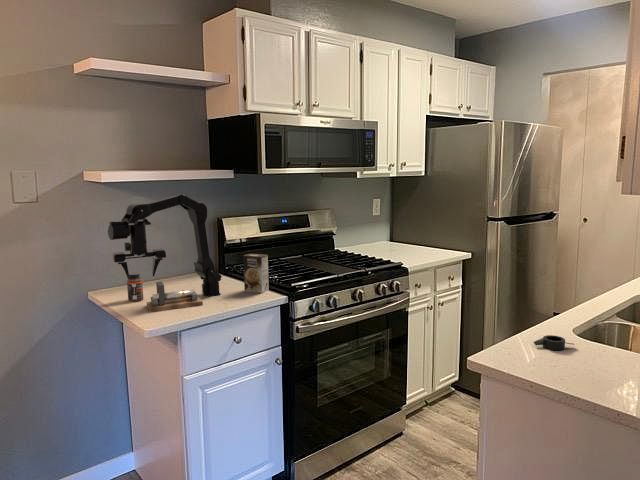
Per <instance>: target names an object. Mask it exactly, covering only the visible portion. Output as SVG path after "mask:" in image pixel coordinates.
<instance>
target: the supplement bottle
mask: <svg viewBox="0 0 640 480" xmlns="http://www.w3.org/2000/svg"><path fill="white" fill-rule="evenodd" d="M140 276H141V275H140V273H139V272H131V273H129V279H128V278H127V279H126V285H127V286H126V288H127V299H128V301H129V302H134V303H135V302H141V301H143V300H144V289H143V288H144V287H143V285H144V284H143V278H142V277H140Z"/></svg>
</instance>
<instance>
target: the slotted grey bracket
mask: <svg viewBox="0 0 640 480" xmlns="http://www.w3.org/2000/svg"><path fill="white" fill-rule="evenodd" d="M155 285H156V294H159V301H158V302H159V304H160V305H165V293H166V292H165V285H164V283H163V282H162V281H156V282H155Z"/></svg>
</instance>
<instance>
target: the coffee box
mask: <svg viewBox="0 0 640 480" xmlns="http://www.w3.org/2000/svg"><path fill="white" fill-rule="evenodd" d="M242 257H243V282H244V283H243V284H244V290H243V291H244V292H245V293H254V294H255V293H256V294H264V293H266V292H268V291H270V289H269V260H268V259H269V255H268V254H262V253H247V254H243V255H242Z"/></svg>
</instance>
